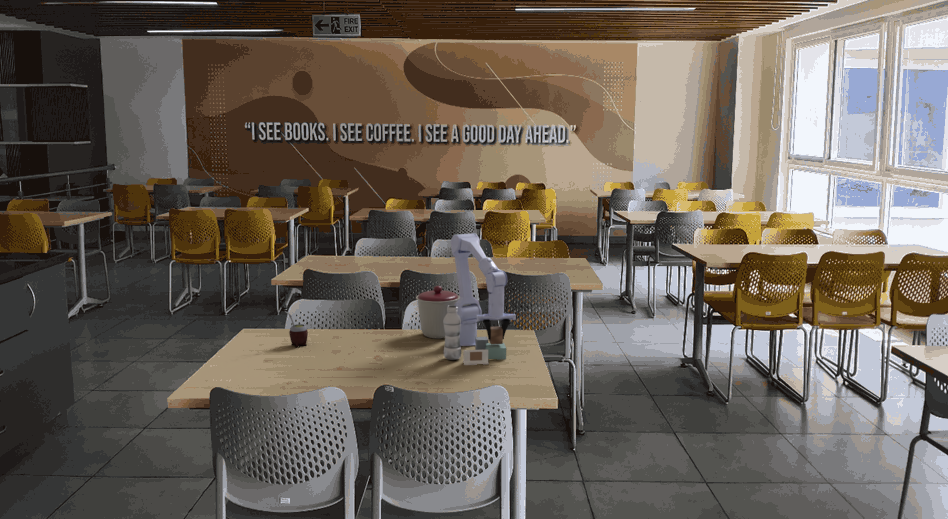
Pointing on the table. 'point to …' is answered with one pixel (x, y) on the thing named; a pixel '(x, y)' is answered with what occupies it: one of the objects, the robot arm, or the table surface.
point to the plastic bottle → (452, 334)
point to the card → (475, 357)
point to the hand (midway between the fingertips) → (495, 338)
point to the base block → (496, 351)
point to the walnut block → (496, 335)
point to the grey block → (480, 343)
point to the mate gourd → (298, 334)
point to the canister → (434, 310)
